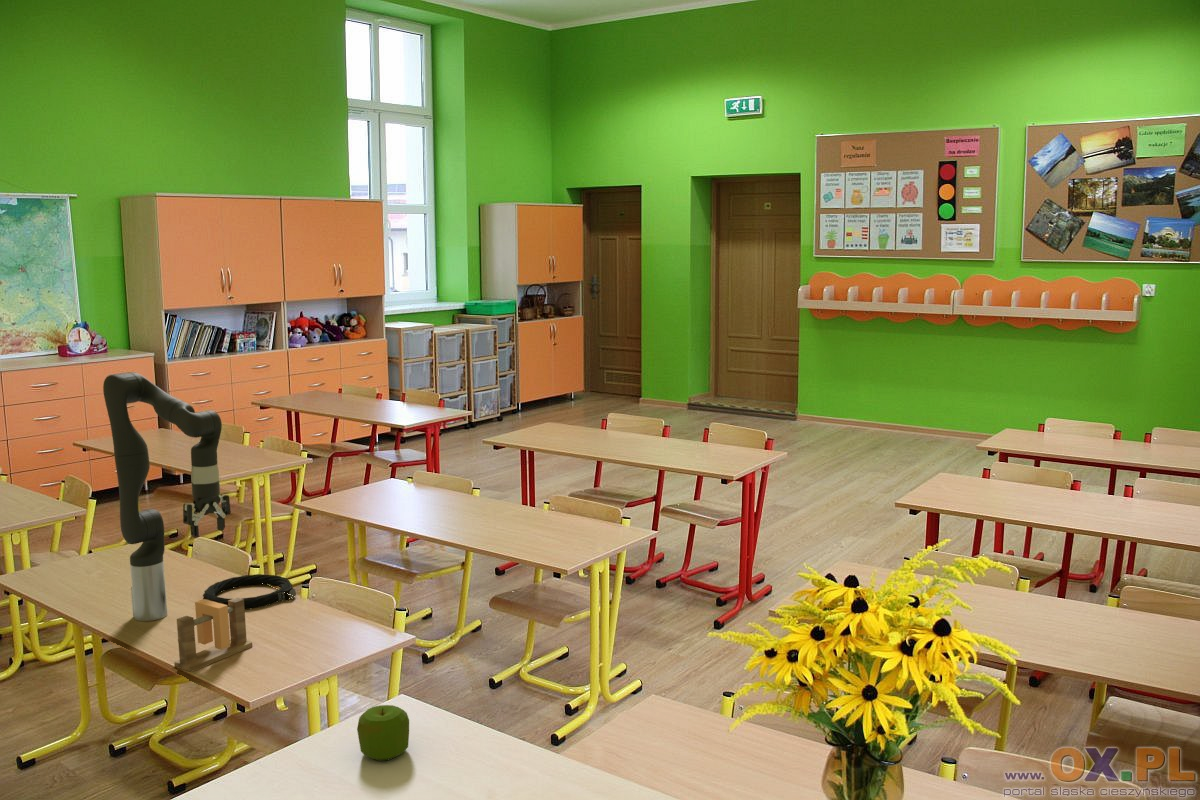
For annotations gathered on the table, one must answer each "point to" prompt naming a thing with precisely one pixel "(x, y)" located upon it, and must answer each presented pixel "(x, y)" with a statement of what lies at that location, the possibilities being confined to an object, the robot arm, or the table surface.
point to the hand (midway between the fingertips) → (208, 533)
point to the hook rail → (210, 655)
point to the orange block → (219, 623)
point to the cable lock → (253, 580)
